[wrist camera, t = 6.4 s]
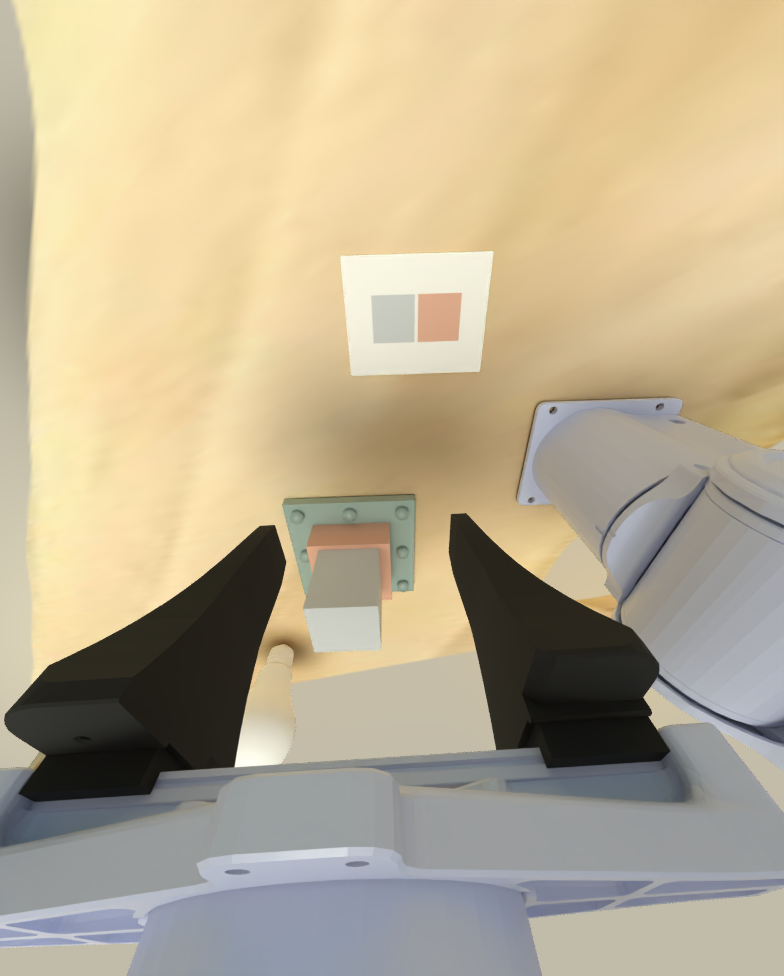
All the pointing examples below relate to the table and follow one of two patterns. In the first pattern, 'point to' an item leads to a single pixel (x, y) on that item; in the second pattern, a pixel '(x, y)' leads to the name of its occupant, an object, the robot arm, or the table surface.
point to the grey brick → (345, 601)
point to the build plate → (352, 512)
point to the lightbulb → (269, 713)
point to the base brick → (355, 545)
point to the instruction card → (416, 311)
